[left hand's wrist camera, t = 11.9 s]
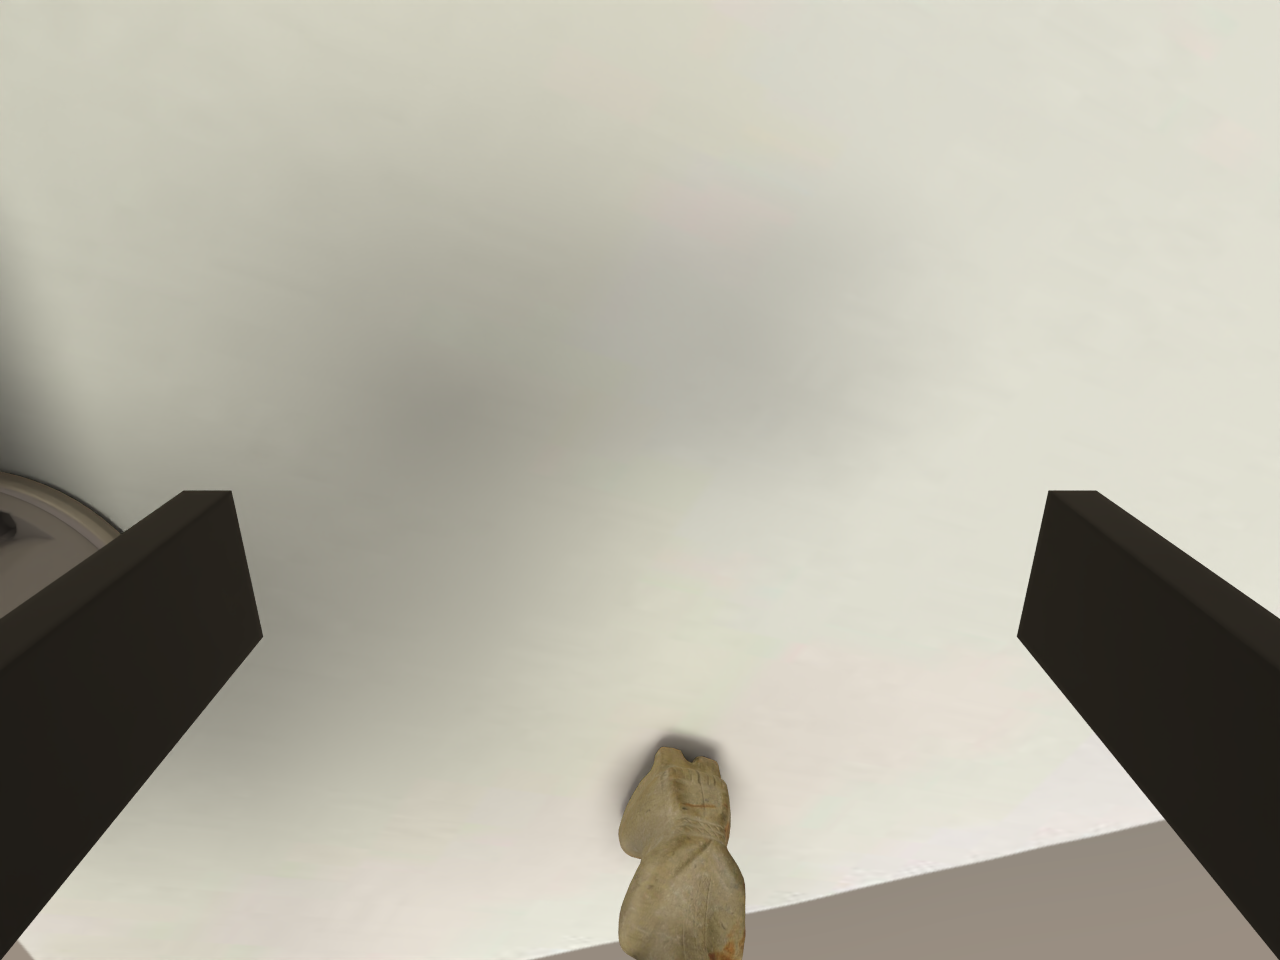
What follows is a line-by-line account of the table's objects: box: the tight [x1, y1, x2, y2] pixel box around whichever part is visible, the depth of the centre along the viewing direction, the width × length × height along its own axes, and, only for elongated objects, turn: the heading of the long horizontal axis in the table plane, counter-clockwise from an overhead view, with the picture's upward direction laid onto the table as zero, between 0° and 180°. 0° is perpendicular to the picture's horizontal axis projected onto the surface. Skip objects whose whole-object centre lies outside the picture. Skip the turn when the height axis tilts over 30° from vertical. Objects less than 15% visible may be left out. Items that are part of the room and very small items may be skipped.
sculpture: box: [618, 747, 745, 960], centre depth 36 cm, size 6×7×15 cm
